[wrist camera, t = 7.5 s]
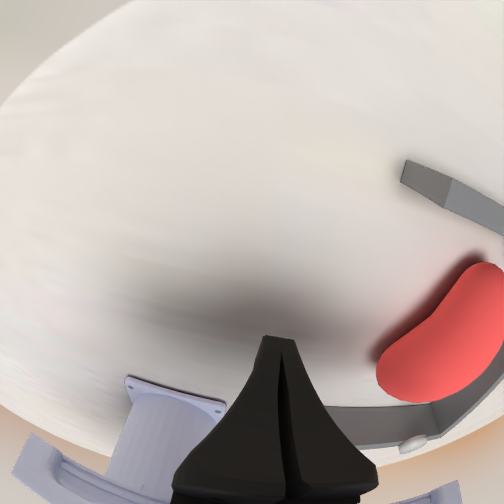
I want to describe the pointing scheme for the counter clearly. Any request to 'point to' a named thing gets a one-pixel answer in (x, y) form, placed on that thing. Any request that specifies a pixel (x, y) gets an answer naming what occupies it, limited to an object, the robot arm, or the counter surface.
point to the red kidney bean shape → (448, 340)
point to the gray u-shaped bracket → (453, 406)
